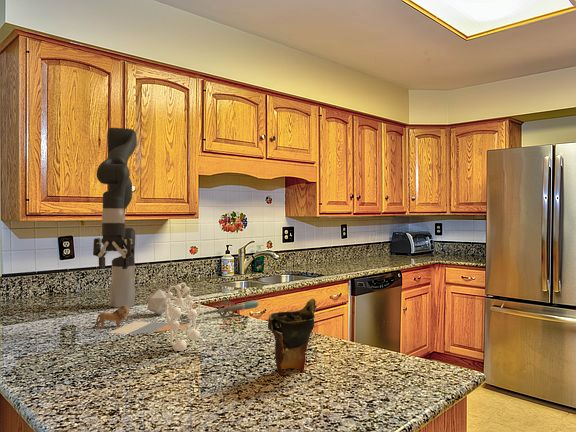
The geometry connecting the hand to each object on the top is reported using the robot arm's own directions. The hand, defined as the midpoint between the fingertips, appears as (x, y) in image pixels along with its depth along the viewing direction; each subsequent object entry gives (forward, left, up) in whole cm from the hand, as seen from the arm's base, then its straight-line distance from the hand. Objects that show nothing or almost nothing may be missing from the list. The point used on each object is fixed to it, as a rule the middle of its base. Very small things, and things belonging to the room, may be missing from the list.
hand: (113, 268), depth 161 cm
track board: (+10, 0, -20) cm, 23 cm away
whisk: (+31, +21, -22) cm, 43 cm away
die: (+6, +21, -21) cm, 30 cm away
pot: (+70, -34, -21) cm, 81 cm away
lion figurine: (-1, -1, -21) cm, 21 cm away
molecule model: (+36, -21, -21) cm, 46 cm away
